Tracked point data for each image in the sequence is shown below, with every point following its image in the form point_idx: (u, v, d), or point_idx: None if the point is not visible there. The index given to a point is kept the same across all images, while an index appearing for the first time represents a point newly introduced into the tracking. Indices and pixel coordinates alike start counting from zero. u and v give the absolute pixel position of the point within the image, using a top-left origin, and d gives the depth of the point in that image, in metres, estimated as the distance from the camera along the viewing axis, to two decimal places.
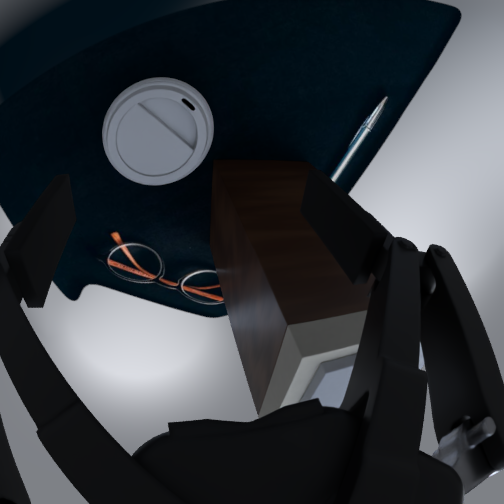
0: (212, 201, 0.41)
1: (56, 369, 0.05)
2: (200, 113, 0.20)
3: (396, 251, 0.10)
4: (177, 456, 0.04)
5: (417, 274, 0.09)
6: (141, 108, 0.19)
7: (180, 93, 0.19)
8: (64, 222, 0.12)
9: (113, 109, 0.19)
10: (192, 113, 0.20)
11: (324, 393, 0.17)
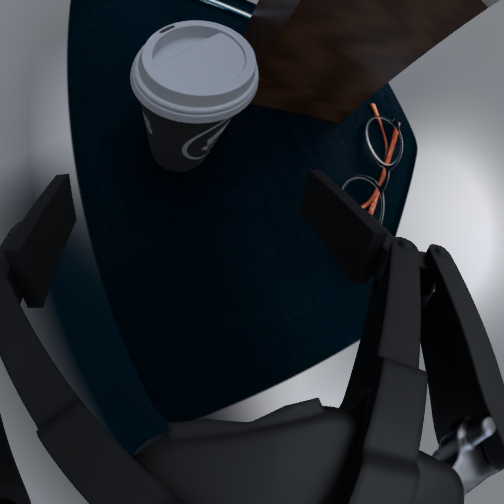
0: (288, 106, 0.34)
1: (56, 369, 0.05)
2: (179, 22, 0.16)
3: (396, 251, 0.10)
4: (177, 456, 0.04)
5: (417, 274, 0.09)
6: (161, 64, 0.16)
7: (153, 34, 0.15)
8: (64, 222, 0.12)
9: (155, 96, 0.16)
10: (177, 27, 0.16)
11: None
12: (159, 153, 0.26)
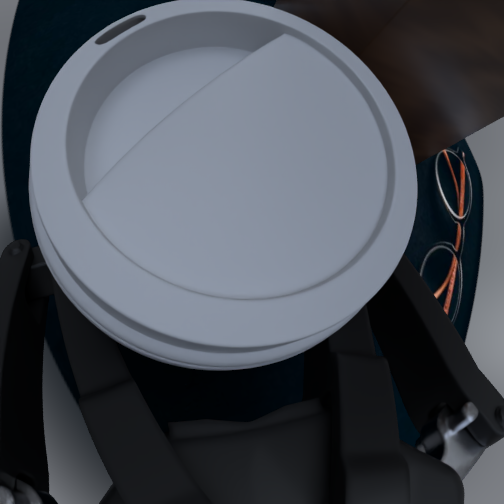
0: None
1: (115, 346, 0.06)
2: (158, 5, 0.05)
3: None
4: (177, 456, 0.04)
5: None
6: (106, 179, 0.04)
7: (76, 54, 0.04)
8: None
9: (115, 324, 0.05)
10: (155, 18, 0.05)
11: None
12: None
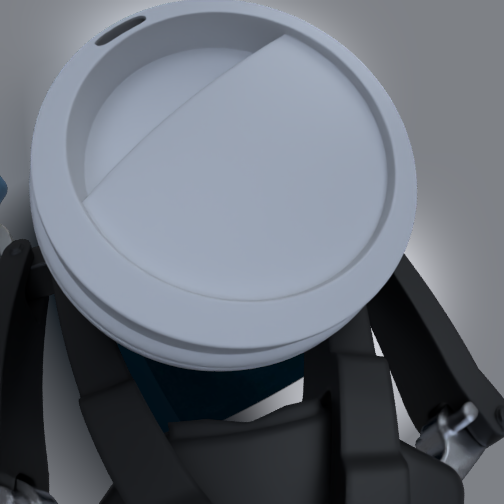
0: None
1: (115, 346, 0.06)
2: (158, 6, 0.05)
3: None
4: (177, 456, 0.04)
5: None
6: (106, 180, 0.04)
7: (76, 55, 0.04)
8: None
9: (115, 325, 0.05)
10: (155, 19, 0.05)
11: None
12: None
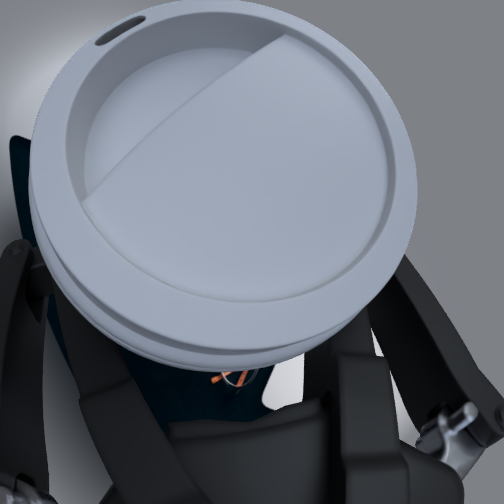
0: None
1: (115, 346, 0.06)
2: (158, 6, 0.05)
3: None
4: (177, 456, 0.04)
5: None
6: (106, 181, 0.04)
7: (76, 55, 0.04)
8: None
9: (115, 326, 0.05)
10: (155, 19, 0.05)
11: None
12: None
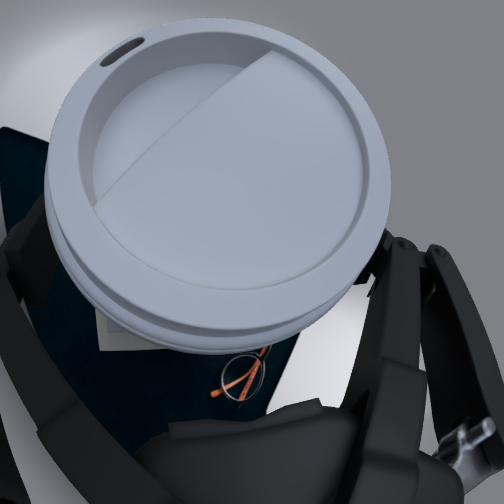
0: None
1: (56, 369, 0.05)
2: (156, 27, 0.06)
3: (396, 251, 0.10)
4: (177, 456, 0.04)
5: (417, 274, 0.09)
6: (113, 188, 0.05)
7: (84, 75, 0.05)
8: None
9: (121, 311, 0.05)
10: (153, 40, 0.05)
11: None
12: None
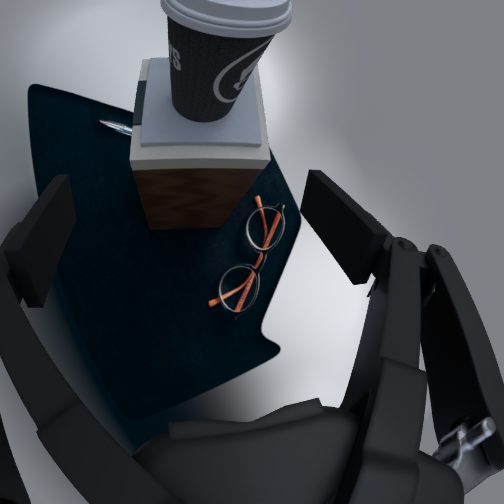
0: (179, 227, 0.55)
1: (56, 369, 0.05)
2: None
3: (396, 251, 0.10)
4: (177, 456, 0.04)
5: (417, 274, 0.09)
6: None
7: None
8: (64, 222, 0.12)
9: (193, 11, 0.13)
10: None
11: (171, 133, 0.26)
12: (185, 97, 0.23)
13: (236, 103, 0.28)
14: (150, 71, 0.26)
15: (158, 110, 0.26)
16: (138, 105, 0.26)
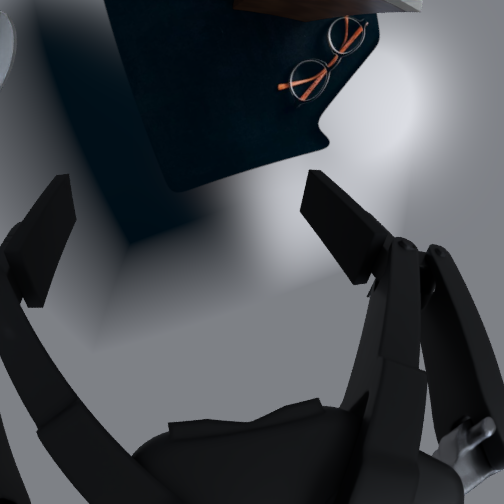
0: (266, 12, 0.38)
1: (56, 369, 0.05)
2: None
3: (396, 251, 0.10)
4: (177, 456, 0.04)
5: (417, 274, 0.09)
6: None
7: None
8: (64, 222, 0.12)
9: None
10: None
11: None
12: None
13: None
14: None
15: None
16: None
